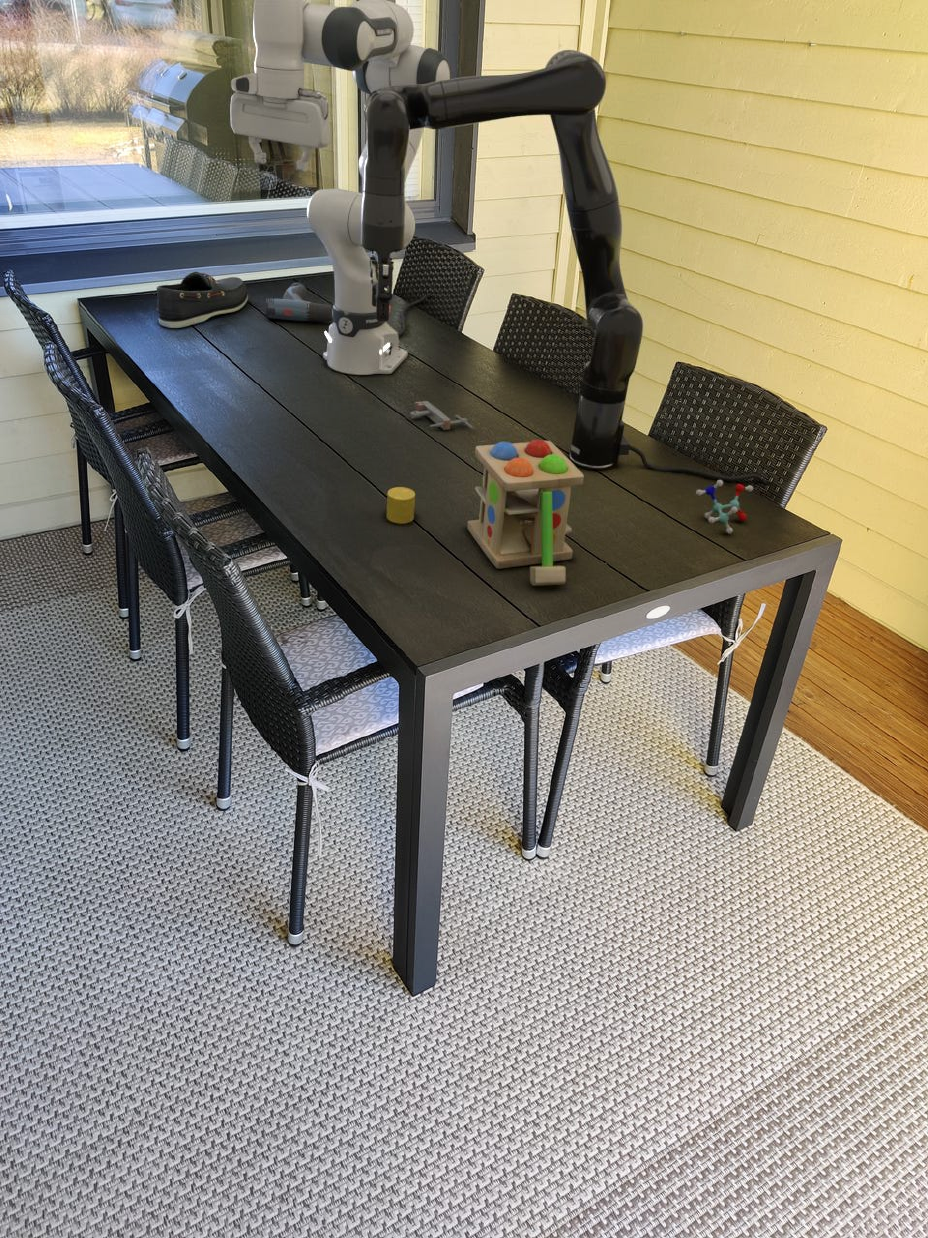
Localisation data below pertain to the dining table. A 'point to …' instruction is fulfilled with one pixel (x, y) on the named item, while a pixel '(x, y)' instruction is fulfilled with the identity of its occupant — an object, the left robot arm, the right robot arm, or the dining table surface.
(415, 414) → the clamp
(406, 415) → the dining table surface
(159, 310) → the boat shoe
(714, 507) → the molecular model
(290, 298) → the power drill
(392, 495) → the yellow cylinder
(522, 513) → the pounding bench toy
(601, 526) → the dining table surface
